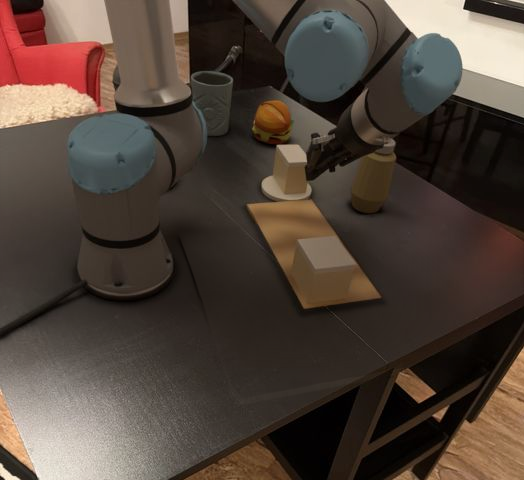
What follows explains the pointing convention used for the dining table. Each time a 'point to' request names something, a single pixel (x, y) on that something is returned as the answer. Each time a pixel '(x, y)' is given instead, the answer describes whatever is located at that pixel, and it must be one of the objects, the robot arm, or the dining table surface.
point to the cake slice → (290, 169)
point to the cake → (322, 269)
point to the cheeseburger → (272, 123)
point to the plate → (276, 194)
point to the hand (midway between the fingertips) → (308, 173)
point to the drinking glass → (213, 99)
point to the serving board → (302, 227)
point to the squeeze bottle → (373, 179)
